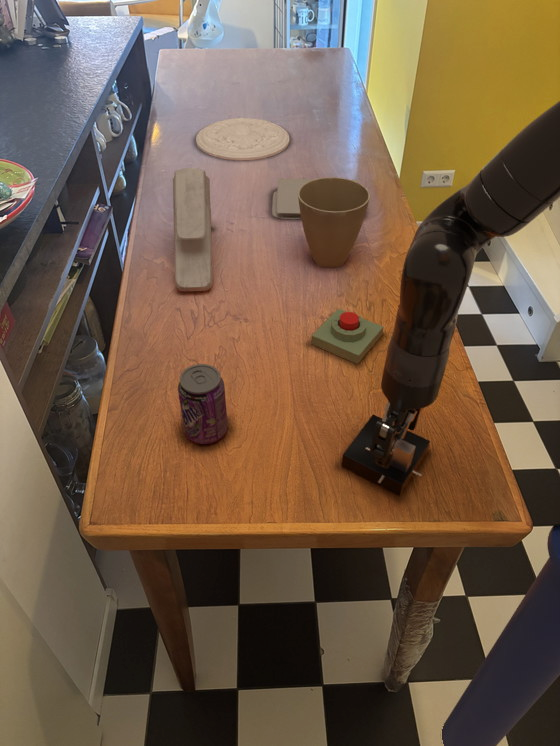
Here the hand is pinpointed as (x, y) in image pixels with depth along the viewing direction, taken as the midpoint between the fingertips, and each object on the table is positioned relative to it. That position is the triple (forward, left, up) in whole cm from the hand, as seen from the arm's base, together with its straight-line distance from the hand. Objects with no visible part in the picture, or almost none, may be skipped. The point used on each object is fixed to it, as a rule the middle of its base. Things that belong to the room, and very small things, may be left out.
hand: (395, 445), depth 88 cm
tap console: (+1, -1, -7) cm, 7 cm away
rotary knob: (0, 0, -4) cm, 4 cm away
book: (+53, -66, -7) cm, 85 cm away
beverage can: (+29, +9, -7) cm, 31 cm away
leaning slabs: (+63, -30, -7) cm, 70 cm away
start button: (+21, -24, -3) cm, 32 cm away
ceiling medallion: (+92, -87, -7) cm, 127 cm away
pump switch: (+21, -24, -7) cm, 32 cm away
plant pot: (+38, -46, -7) cm, 60 cm away
